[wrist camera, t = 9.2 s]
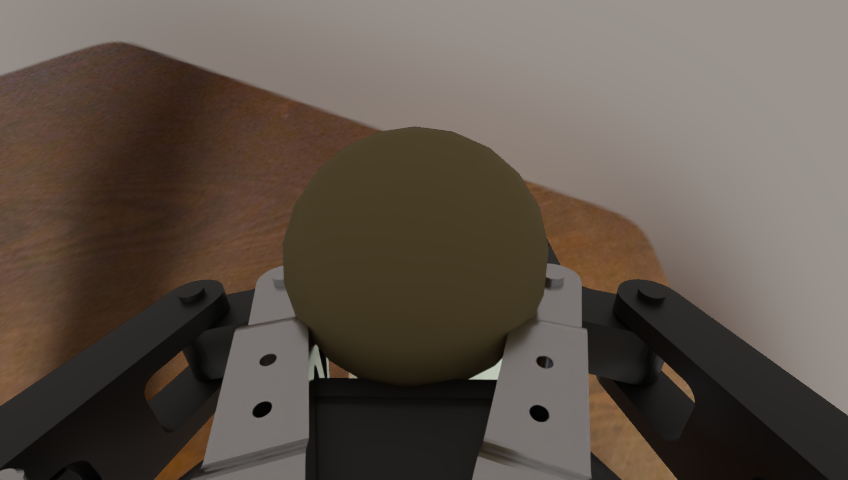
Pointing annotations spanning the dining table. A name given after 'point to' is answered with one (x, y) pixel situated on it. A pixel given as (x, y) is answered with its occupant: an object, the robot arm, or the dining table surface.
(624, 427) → the dining table surface
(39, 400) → the robot arm
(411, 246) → the cork
